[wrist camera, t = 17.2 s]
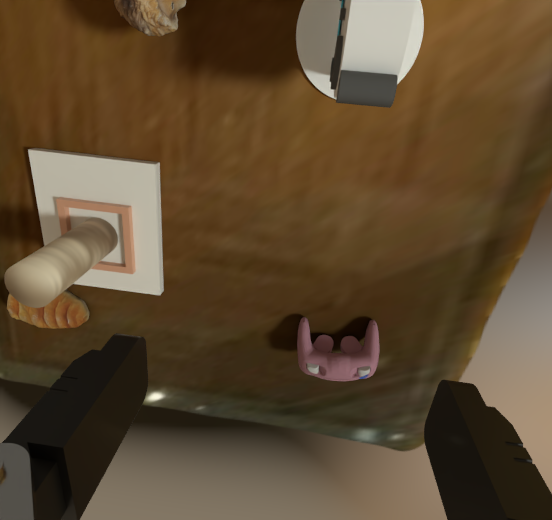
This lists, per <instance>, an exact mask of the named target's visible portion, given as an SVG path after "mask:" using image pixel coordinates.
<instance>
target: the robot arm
mask: <svg viewBox="0 0 552 520" xmlns="http://www.w3.org/2000/svg"><path fill="white" fill-rule="evenodd" d="M147 387H148V370H147V353H146V341H145V339H144V337H139V336H131V335H124V334H114V335H113V336H112V337H111V338H110V340H109V341H108V342H107V343H106V345H105V346H104V347H103V348H102V350H101V351H99V350H91V351H89V352H87V353H86V354H84V355H82V356H81V357H79V358H78V359H76V360H74V361H73V362H72V363H71V365H70V366H69V367H68V368H67V369H66V370H65V371H64V373H63V374H62V375H61V378H60V379H58V380H57V381H56V382H55V383H54V384H53V385H52V386H51V388H50V391H49V392H48V391H47V392H46V393H45V394H44V396H43V397H42V398H41V399H40V400H39V402H37V404H36V405H35V406H34V407H33V408H32V409H31V410H30V412H29V413H28V414H27V415H26V416H25V418H24V419H23V420H22V421H21V422H20V423H19V424H18V425H17V427H16V428H15V429H14V430H13V431H12V432H11V434H10V435H9V436H8V437H7V438H6V439H5V440H4V441H3V442H2V443H0V520H80V518H81V516H82V514H83V512H84V511H85V509H86V507H87V505H88V503H89V501H90V499H91V498H92V496H93V494H94V492H95V490H96V488H97V486H98V485H99V483H100V481H101V479H102V477H103V476H104V474H105V472H106V470H107V468H108V466H109V464H110V463H111V461H112V459H113V457H114V455H115V453H116V452H117V450H118V448H119V446H120V444H121V442H122V440H123V438H124V437H125V435H126V433H127V431H128V429H129V428H130V426H131V424H132V422H133V420H134V418H135V417H136V415H137V413H138V411H139V409H140V407H141V405H142V403H143V401H144V399H145V396H146V392H147ZM424 439H425V445H426V449H427V453H428V456H429V459H430V463H431V466H432V469H433V472H434V476H435V479H436V482H437V486H438V489H439V492H440V496H441V499H442V503H443V506H444V509H445V512H446V516H447V519H448V520H552V494H551V492H550V490H549V489H548V487H547V485H546V483H545V481H544V480H543V478H542V476H541V474H540V473H539V471H538V469H537V467H536V466H535V464H532V459H531V457H530V455H529V454H528V452H527V450H526V448H523V443H522V441H521V440H520V438H519V436H518V434H517V432H516V431H515V429H514V427H513V425H512V424H511V423H510V422H509V421H508V420H507V419H506V418H505V417H504V416H503V415H501V413H500V412H499V411H498V410H497V409H496V408H495V407H488V406H486V404H485V402H484V401H483V399H482V397H481V395H480V393H479V391H478V389H477V388H476V386H475V385H474V384H470V383H463V382H456V381H449V380H442V381H441V382H440V383H439V385H438V388H437V391H436V394H435V396H434V399H433V402H432V405H431V408H430V411H429V413H428V416H427V419H426V422H425V428H424Z"/></svg>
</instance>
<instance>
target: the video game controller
mask: <svg viewBox="0 0 552 520" xmlns="http://www.w3.org/2000/svg"><path fill="white" fill-rule="evenodd" d="M333 344H334V343H333V339H332V338H331V337H330V336H328V335H320V336H318V338H317V339H316V341H315V342H314V344H312V343H311V339H310V330H309V324H308V320H307V318H306V317H303V318H302V319H301V320H300V323H299V328H298V338H297V349H298V361H299V366H300V368H301V370H302V371H303V372H305V373H306V374H309V375H314V376H316V377H319V378H322V379H326V380H331V381H351V380H357V379H363V378H368V377H370V376H372V375H373V374H374V372H375V370H376V368H377V365H378V359H379V334H378V327H377V324H376V322H375V321H374V320H370V322H369V324H368V326H367V330H366V335H365V341H364V346H363V347H362V346H361V345H360V343H359V342H358V340H357V339H356V338H355V337H353V336H346V337H344V338H343V339H342V341H341V345H340V348H341V351H342V353H331V351H332V349H333Z"/></svg>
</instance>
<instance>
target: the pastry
mask: <svg viewBox="0 0 552 520" xmlns="http://www.w3.org/2000/svg"><path fill="white" fill-rule="evenodd" d="M7 309H8V311H9V313H10V315H11V317H13V318H15V319H20V320H23V321H25V322H27V323H29V324H32V325H36V326H37V327H40V328H54V329H55V328H74V327H78V326H80V325H81V324H83V323H84V322H85V321H87V320H88V318H89V310H88V308H87V305H86V303H85V302H84V301H83V300H82V299H81V298H79V297H77V296H75V295H74V294H73V293H71V292H70V291H68V290H67V289H66V290H64V291H63V292H62V293H61V294H60V295H58V296H57V297H56V298H55V299H54V300H52V301H51V302H50V303H49V304H48V305H46V306H44V307H41V308H32V307H28V306H26V305H23V304H22V303H20V302H18V301H17V300H16V299H15V298H14V297H13V296H12V295H11V294H9V296H8V301H7Z"/></svg>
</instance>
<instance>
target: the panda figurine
mask: <svg viewBox="0 0 552 520" xmlns="http://www.w3.org/2000/svg"><path fill="white" fill-rule="evenodd" d="M423 28H424V18H423V10H422V4H421V1H420V0H304V2H303V5H302V7H301V10H300V13H299V17H298V22H297V28H296V46H297V52H298V57H299V60H300V63H301V66H302V68H303V70H304V72H305V74H306V75H307V77H308V78H309V80H310V81H311V82H312V83H313V85H314V86H315V87H316V88H317V89H319V90H320V91H321V92H322V93H324V94H326V95H327V96H329V97H331V98H334V99H336V103H346V104H357V105H368V106H378V107H389V108H390V107H391V106H392V104H393V101H394V97H395V93H396V87H397V84H398V83H399V82H400V81H401V80H402V79H403V78H404V77H405V75H406V74H407V73H408V71H409V70H410V68H411V67H412V65H413V63H414V61H415V59H416V57H417V54H418V52H419V49H420V46H421V42H422V37H423Z"/></svg>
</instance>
